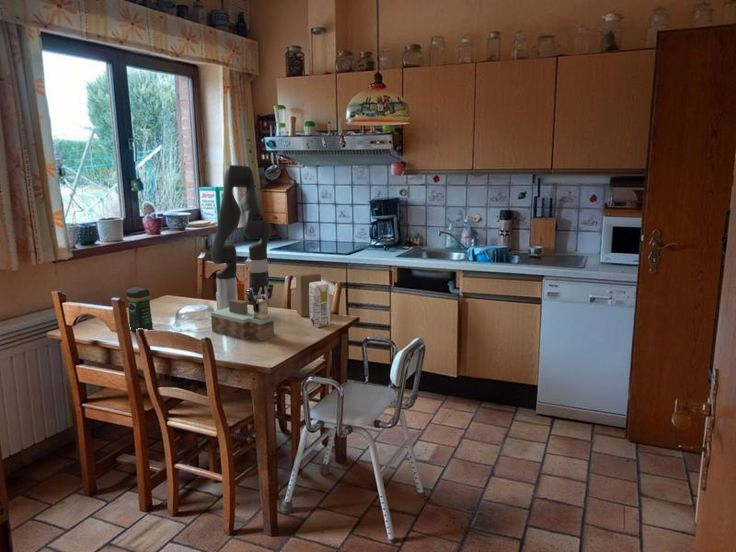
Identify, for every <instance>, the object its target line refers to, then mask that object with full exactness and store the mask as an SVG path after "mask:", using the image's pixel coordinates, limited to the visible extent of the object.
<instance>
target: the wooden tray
mask: <svg viewBox="0 0 736 552" xmlns="http://www.w3.org/2000/svg"><path fill="white" fill-rule="evenodd" d="M210 318H211V319H210V320H211V332H212V333H216V334H220V335H224V336H227V335H228V337H231V336H232V337H231V338H236V339H240V340H244V341H245V340H248V339H253V340H256V341H261V342H264V341H265V340H269V339H271V338H274V337H275V331H274V329H275V328H274V327H275V325H274V323H275V322H274V320H273V321H270V322H267V323H264V324H257V323H252V322H246V323H240V322H235V321H231V320H227V319H223V318H218V317H214V316H211V315H210Z"/></svg>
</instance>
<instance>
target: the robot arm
mask: <svg viewBox="0 0 736 552" xmlns="http://www.w3.org/2000/svg"><path fill="white" fill-rule="evenodd" d="M225 169H226V170H225V172H224V173H225V174H224V179H223V180H224V181H223V182H224V183H223V193H222V200H221V204H220V209H219V214H218V218H217V219H218V220H217V226H216V231H215V236H214V239H213V243H212V246H211V252H210V258H211V262H212V263H213V264H215V265H223V264H225V265H224V267H222V268H220V269H219V270H217V271H216V272H215V278H216V293H215V297H216V311H218V310H221V309H225V308H228V307H229V300H233V299H236V300H239V299H238V284H237V249H236V247H235V244H233V243H226V241H227V240H228V239H229V237H231V235H232V234H233V233H234V232H235V231H236V230H237V229H238V226H239V224H240V221H241V220H240V219H241V214H242V215H243V231H242V232H243V235H244V237H246V238H247V239H252V240H253V239H259V241H258V242H256V243H253V244H250V245H249V246H248V256H249V257H248V258H249V262H248V269H249V271H248V272H249V282H250V288H248V289H245V291H244V292H245V294H246V297H247V302H248V303H251V304H252V306H253V309H252V310H254V312H256V313H258V312H259V304H258V302H259V299H263V300H267V304H268V302H269V300H271V299H272V296H273V290H274V284H270V283H269V280H270V279H269V262H268V243H269V238H270V234H271V224H270V223H269V222H268V220H264V219H262V212H261V209H260V206H259V204H258V199H257V194H256V185H255V179H254V174H253V170H252V168H251V167H250V166H247V165H239V164H238V165H237V164H229V165H227V167H226V168H225ZM234 188H246V191H245V193H244V195H243V196H242V198H241V201H240V205H239V204H238V202H237V200H236V198H235V196H234V192H233V189H234ZM261 219H262V220H261ZM255 300H256V301H255ZM268 305H269V304H268Z"/></svg>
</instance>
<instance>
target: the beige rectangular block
mask: <svg viewBox="0 0 736 552" xmlns="http://www.w3.org/2000/svg"><path fill="white" fill-rule="evenodd" d="M255 301H256V299H255ZM267 302H268V301H267V300H263V299H262V298H259V302H258V304H259V312H258V313H256V312H254V319H257V320H264V319H267V318H268V316H269V308H268V306H269V304H267Z"/></svg>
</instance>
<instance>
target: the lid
mask: <svg viewBox="0 0 736 552" xmlns="http://www.w3.org/2000/svg"><path fill="white" fill-rule="evenodd" d="M211 316H214V317H218V318H223V319H227V320H231V321H235V322H240V323H246V322H252V323H257V324H264V323H267V322H270V321H273V322H274V316H270V315H268V318H267V319H264V320H257V319H254V310H253V309H251V308H248V301H246V300H241V299H238V300H236V299H233V300H229V307H228V308H225V309H221V310H218V311H217V310H215V311H211V312H210V317H211Z"/></svg>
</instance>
